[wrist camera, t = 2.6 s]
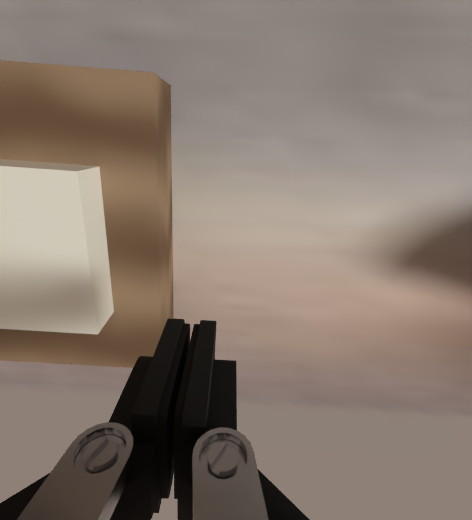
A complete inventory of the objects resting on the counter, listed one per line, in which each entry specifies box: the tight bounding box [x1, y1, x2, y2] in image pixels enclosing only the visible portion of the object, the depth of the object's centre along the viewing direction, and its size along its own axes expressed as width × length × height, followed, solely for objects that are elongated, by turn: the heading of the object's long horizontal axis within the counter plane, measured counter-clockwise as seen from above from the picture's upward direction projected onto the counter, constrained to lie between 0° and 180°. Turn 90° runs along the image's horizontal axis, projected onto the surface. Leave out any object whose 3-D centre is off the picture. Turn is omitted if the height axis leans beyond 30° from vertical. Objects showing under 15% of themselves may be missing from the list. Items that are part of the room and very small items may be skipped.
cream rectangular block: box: [0, 159, 114, 334], centre depth 17 cm, size 9×6×2 cm, turn 176°
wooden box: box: [0, 60, 173, 368], centre depth 20 cm, size 18×14×4 cm
